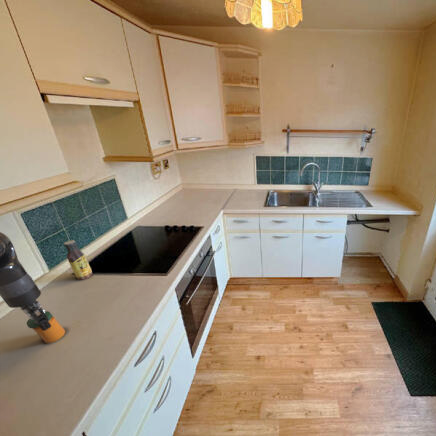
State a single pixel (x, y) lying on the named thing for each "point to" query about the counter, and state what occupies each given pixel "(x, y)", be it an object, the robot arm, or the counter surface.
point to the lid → (32, 323)
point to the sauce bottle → (77, 261)
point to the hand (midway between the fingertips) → (43, 324)
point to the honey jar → (51, 331)
